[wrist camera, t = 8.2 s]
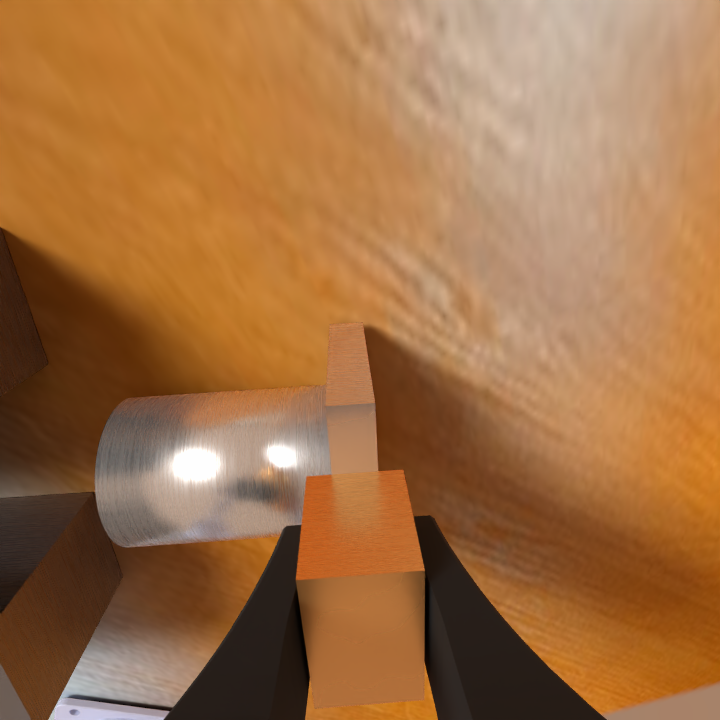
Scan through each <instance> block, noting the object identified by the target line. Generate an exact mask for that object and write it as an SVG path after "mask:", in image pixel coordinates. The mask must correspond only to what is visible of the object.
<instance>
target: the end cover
mask: <svg viewBox="0 0 720 720" xmlns="http://www.w3.org/2000/svg"><path fill="white" fill-rule="evenodd" d="M95 494H96V502H97V508H98V512H99V516H100V519H101V522H102V525H103V527H104V529H105V531H106V533H107V535H108V536H109V537H110V539H111V540H112V541H113V542H114V543H116V544H117V545H119V546H121V547H126V548H127V547H141V546H155V545H169V544H183V543H197V542H210V541H224V540H238V539H252V538H266V537H280V535H281V533H282V530H283V529H284V528H285V527H286V526H290V525H301V534H300V544H299V554H298V563H297V573H296V585H297V592H298V599H299V606H300V612H301V619H302V626H303V633H304V640H305V647H306V653H307V660H308V667H309V674H310V681H311V687H312V694H313V701H314V708H315V709H317V708H329V707H342V706H354V705H367V704H380V703H392V702H405V701H417V700H424V645H425V569H424V564H423V559H422V555H421V550H420V545H419V541H418V536H417V531H416V527H415V522H414V517H413V513H412V508H411V503H410V499H409V494H408V489H407V485H406V480H405V475H404V471H403V470H390V471H378V456H377V433H376V410H375V399H374V392H373V386H372V379H371V373H370V366H369V360H368V354H367V347H366V341H365V334H364V328H363V322H360V323H344V324H330V331H329V350H328V368H327V385H316V386H301V387H286V388H271V389H256V390H240V391H225V392H210V393H195V394H179V395H164V396H149V397H134V398H128V399H126V400H124V401H122V402H121V403H120V404H119V405H118V406H117V407H116V408H115V409H114V410H113V412H112V413H111V415H110V417H109V418H108V420H107V423H106V425H105V427H104V430H103V432H102V435H101V439H100V443H99V446H98V452H97V457H96V466H95Z"/></svg>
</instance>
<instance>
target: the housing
mask: <svg viewBox="0 0 720 720" xmlns="http://www.w3.org/2000/svg"><path fill="white" fill-rule="evenodd" d="M46 365H48V362H47V359H46V356H45V353H44V350H43V347H42V344H41V341H40V339H39V336H38V333H37V330H36V327H35V324H34V321H33V319H32V316H31V313H30V310H29V307H28V304H27V301H26V299H25V296H24V293H23V290H22V287H21V284H20V281H19V278H18V276H17V273H16V270H15V267H14V264H13V261H12V258H11V256H10V253H9V250H8V247H7V244H6V241H5V238H4V236H3V233H2V230H1V227H0V397H1V396H2V395H4V394H5V393H7V392H8V391H9V390H11V389H12V388H14V387H15V386H17V385H18V384H20V383H21V382H23V381H24V380H26V379H27V378H29V377H30V376H32V375H33V374H35V373H36V372H37V371H39V370H40V369H42V368H43V367H45V366H46ZM122 578H123V576H122V573H121V571H120V568H119V565H118V562H117V559H116V556H115V553H114V551H113V548H112V545H111V542H110V539H109V536H108V535H107V533H106V531H105V529H104V527H103V525H102V522H101V519H100V516H99V512H98V508H97V502H96V499H95V496H94V493H93V492H86V493H72V494H58V495H43V496H29V497H15V498H0V720H48V719H49V717H50V715H51V713H52V711H53V709H54V707H55V705H56V704H57V702H58V700H59V698H60V696H61V694H62V692H63V690H64V688H65V686H66V684H67V683H68V681H69V679H70V677H71V675H72V673H73V671H74V669H75V667H76V665H77V664H78V662H79V660H80V658H81V656H82V654H83V652H84V650H85V648H86V646H87V645H88V643H89V641H90V639H91V637H92V635H93V633H94V631H95V629H96V627H97V626H98V624H99V622H100V620H101V618H102V616H103V614H104V612H105V610H106V608H107V606H108V605H109V603H110V601H111V599H112V597H113V595H114V593H115V591H116V589H117V587H118V586H119V584H120V582H121V580H122Z"/></svg>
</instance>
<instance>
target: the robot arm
mask: <svg viewBox="0 0 720 720" xmlns="http://www.w3.org/2000/svg"><path fill="white" fill-rule="evenodd" d="M414 522H415V527H416V531H417V536H418V541H419V545H420V550H421V555H422V559H423V564H424V569H425V645H424V661H425V666H426V670H427V674H428V678H429V682H430V686H431V691H432V695H433V699H434V703H435V707H436V711H437V716H438V720H607V719H605V718H604V717H603V716H602V715H601V714H599V713H598V712H597V711H596V710H595V709H594V708H592V707H591V706H590V705H589V704H588V703H587V702H586V701H585V700H584V699H583V698H582V697H580V696H579V695H578V694H577V693H576V692H575V691H574V690H573V689H572V688H571V687H570V686H569V685H567V684H566V683H565V682H564V681H563V680H562V679H561V678H560V677H559V676H558V675H557V674H556V673H554V672H553V671H552V670H551V669H550V668H549V667H548V666H547V665H546V664H545V663H544V662H543V661H542V660H541V659H540V658H539V657H538V655H537V654H536V653H535V652H534V651H533V650H532V649H531V648H530V647H529V646H528V645H527V644H526V643H525V642H524V641H523V640H522V639H521V638H520V636H519V635H518V634H517V633H516V632H515V631H514V630H513V629H512V628H511V626H510V625H509V624H508V623H507V622H506V621H505V620H504V618H503V617H502V616H501V615H500V614H499V612H498V611H497V610H496V609H495V607H494V606H493V605H492V604H491V603H490V601H489V600H488V599H487V598H486V596H485V595H484V594H483V592H482V591H481V590H480V589H479V587H478V586H477V585H476V583H475V582H474V580H473V579H472V578H471V576H470V575H469V573H468V572H467V571H466V569H465V568H464V567H463V565H462V564H461V562H460V561H459V559H458V558H457V556H456V555H455V553H454V552H453V550H452V549H451V547H450V545H449V544H448V542H447V541H446V539H445V537H444V536H443V534H442V532H441V530H440V529H439V527H438V525H437V523H436V521H435V519H434V518H433V517H432V516H430V515H429V516H415V517H414ZM300 534H301V525H290V526H286V527H285V528H284V529H283V530H282V533H281V535H280V538H279V540H278V543H277V545H276V547H275V550H274V552H273V554H272V556H271V558H270V560H269V562H268V564H267V566H266V568H265V570H264V572H263V574H262V576H261V578H260V580H259V581H258V583H257V585H256V587H255V589H254V591H253V592H252V594H251V596H250V598H249V600H248V601H247V603H246V605H245V606H244V608H243V610H242V611H241V613H240V615H239V616H238V618H237V619H236V621H235V623H234V624H233V626H232V628H231V629H230V631H229V632H228V634H227V635H226V637H225V638H224V640H223V641H222V643H221V644H220V646H219V647H218V649H217V650H216V652H215V653H214V655H213V656H212V657H211V659H210V660H209V662H208V663H207V664H206V666H205V667H204V669H203V670H202V671H201V673H200V674H199V675H198V677H197V678H196V679H195V680H194V682H193V683H192V684H191V686H190V687H189V688H188V690H187V691H186V692H185V693H184V695H183V696H182V697H181V699H180V700H179V701H178V702H177V704H176V705H175V706H174V707H173V708H172V710H171V711H164V710H157V709H149V708H142V707H134V706H127V705H119V704H112V703H104V702H96V701H89V700H81V699H74V698H63V699H61V700H60V701H59V702H58V704H57V706H56V708H55V717H54V720H305V715H306V706H307V698H308V689H309V681H310V674H309V667H308V660H307V653H306V647H305V640H304V633H303V626H302V619H301V612H300V606H299V599H298V592H297V585H296V573H297V563H298V554H299V544H300Z"/></svg>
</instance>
